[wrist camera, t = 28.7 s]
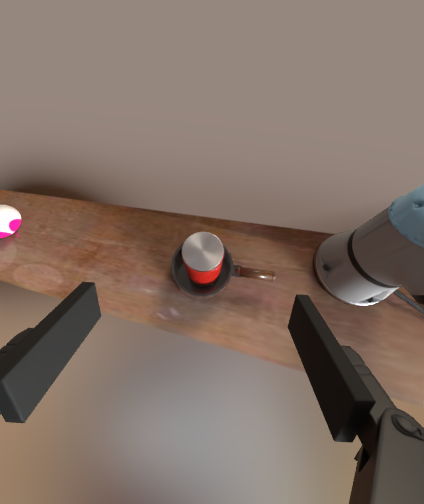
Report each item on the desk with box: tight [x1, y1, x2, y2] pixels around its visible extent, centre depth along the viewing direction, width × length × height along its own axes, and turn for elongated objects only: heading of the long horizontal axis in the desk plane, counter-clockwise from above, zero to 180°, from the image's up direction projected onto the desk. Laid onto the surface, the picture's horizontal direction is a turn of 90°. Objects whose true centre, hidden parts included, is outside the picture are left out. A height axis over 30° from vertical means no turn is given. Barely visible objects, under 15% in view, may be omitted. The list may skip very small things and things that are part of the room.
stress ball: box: [0, 205, 21, 239], centre depth 45 cm, size 8×8×7 cm
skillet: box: [171, 243, 233, 300], centre depth 42 cm, size 11×11×4 cm
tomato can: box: [182, 232, 224, 287], centre depth 38 cm, size 7×7×12 cm
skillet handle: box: [232, 265, 276, 281], centre depth 40 cm, size 8×2×2 cm, turn 82°
